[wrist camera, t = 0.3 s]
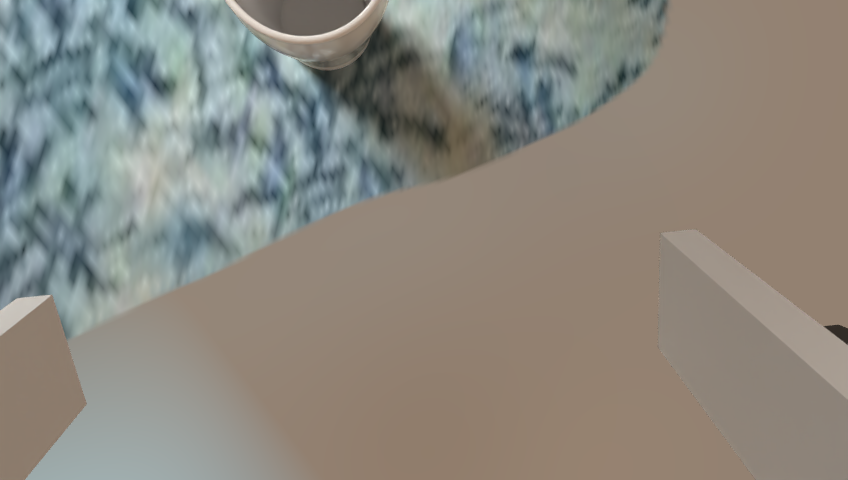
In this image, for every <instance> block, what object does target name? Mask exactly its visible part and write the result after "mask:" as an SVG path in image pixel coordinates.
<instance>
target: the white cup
mask: <svg viewBox="0 0 848 480" xmlns="http://www.w3.org/2000/svg"><path fill="white" fill-rule="evenodd" d="M225 1H226V3H227V4H228V5H229V7H230V8H231V10H232V11H233V12H234V14H235V15H236V16H237V18H238V19H239V20H240V21H241V22H242V23H243V25H244V26H245V27H246V28H247V29H248V30H249V31H250V32H251V33H252V34H253V35H255V36H256V37H257V38H258V39H259V40H261V41H262V42H263V43H265V44H266V45H267V46H269V47H271V48H272V49H274V50H276V51H277V52H280V53H282V54H284V55H286V56H289V57H291V58H294V59H297V60H298V61H300V62H301V63H303V64H305V65H307V66H309V67H311V68H314V69H318V70H336V69H340V68H343V67H346V66H348V65H350V64H351V63H353V62H354V61H355V60H357V59H358V58H359V57H360V56H361V55H362V53H363V52H364V51H365V49H366V47H367V46H368V44H369V41H370V38H371V36H372V34H373V33H374V31H375V30H376V28H377V27H378V25H379V23H380V21H381V20H382V17H383V15H384V13H385V11H386V8H387V5H388V2H389V0H225Z"/></svg>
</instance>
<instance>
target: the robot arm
mask: <svg viewBox="0 0 848 480" xmlns="http://www.w3.org/2000/svg"><path fill="white" fill-rule="evenodd" d="M658 316H659V317H658V348H659V349H660V351H661V352H662V354H663V355H664V356H665V358H666V359H667V360H668V362H669V363H670V364H671V366H672V367H673V368H674V370H675V371H676V372H677V374H678V375H679V377H680V378H681V379H682V381H683V382H684V383H685V385H686V386H687V387H688V389H689V390H690V392H691V393H692V394H693V396H694V397H695V398H696V400H697V401H698V402H699V404H700V405H701V407H702V408H703V409H704V410H705V412H706V413H707V415H708V416H709V417H710V418H711V420H712V421H713V423H714V424H715V425H716V427H717V428H718V430H719V431H720V432H721V434H722V435H723V436H724V438H725V439H726V440H727V442H728V443H729V445H730V446H731V447H732V449H733V450H734V451H735V453H736V454H737V455H738V457H739V458H740V459H741V461H742V462H743V464H744V465H745V466H746V468H747V469H748V470H749V472H750V473H751V474H752V476H753V477H754V478H755V480H848V328H845V327H843V326H840V325H832V326H822V325H821V324H820V323H818V322H817V321H816V320H814V319H813V318H812V317H810V316H809V315H808V314H806V313H805V312H804V311H802V310H801V309H800V308H798V307H797V306H796V305H795V304H793V303H792V302H791V301H789V300H788V299H787V298H786V297H784V296H783V295H782V294H780V293H779V292H777V291H776V290H775V289H774V288H772V287H771V286H770V285H769V284H767V283H766V282H764V281H763V280H762V279H760V278H759V277H758V276H757V275H755V274H754V273H753V272H752V271H750V270H749V269H748V268H746V267H745V266H744V265H742V264H741V263H740V262H738V261H737V260H735V258H733V257H732V256H731V255H729V254H728V253H727V252H725V251H724V250H723V249H721V248H720V247H719V246H717V245H716V244H715V243H714V242H712V241H711V240H710V239H708V238H707V237H706V236H704V235H703V234H702V233H700V232H699V231H698V230H697V229H693V230H683V231H673V232H663V233H660V263H659V314H658ZM86 404H87V403H86V400H85V397H84V394H83V391H82V388H81V385H80V382H79V378H78V375H77V372H76V369H75V366H74V363H73V359H72V356H71V353H70V350H69V347H68V343H67V340H66V337H65V334H64V331H63V328H62V325H61V321H60V318H59V315H58V312H57V309H56V306H55V302H54V299H53V296H52V295H46V296H36V297H26V298H17V299H16V300H14V301H13V302H12V303H10V304H9V305H7V306H6V307H5V308H3V309H2V310H1V311H0V480H25V479H26V477H27V476H28V475H29V474H30V473H31V471H32V470H33V469H34V468H35V466H36V465H37V464H38V463H39V461H40V460H41V459H42V458H43V457H44V456H45V454H46V453H47V452H48V450H49V449H50V448H51V447H52V446H53V444H54V443H55V442H56V441H57V440H58V438H59V437H60V436H61V435H62V434H63V432H64V431H65V430H66V428H67V427H68V426H69V425H70V424H71V423H72V421H73V420H74V419H75V418H76V417H77V415H78V414H79V413H80V412H81V410H82V409H83V408H84V407H85V406H86Z"/></svg>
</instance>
